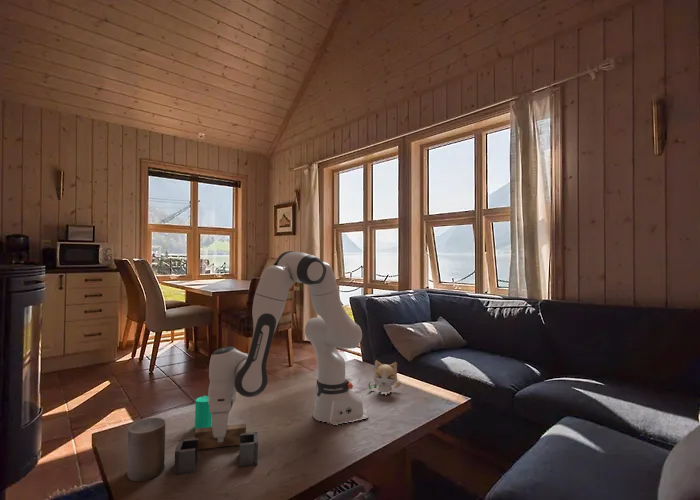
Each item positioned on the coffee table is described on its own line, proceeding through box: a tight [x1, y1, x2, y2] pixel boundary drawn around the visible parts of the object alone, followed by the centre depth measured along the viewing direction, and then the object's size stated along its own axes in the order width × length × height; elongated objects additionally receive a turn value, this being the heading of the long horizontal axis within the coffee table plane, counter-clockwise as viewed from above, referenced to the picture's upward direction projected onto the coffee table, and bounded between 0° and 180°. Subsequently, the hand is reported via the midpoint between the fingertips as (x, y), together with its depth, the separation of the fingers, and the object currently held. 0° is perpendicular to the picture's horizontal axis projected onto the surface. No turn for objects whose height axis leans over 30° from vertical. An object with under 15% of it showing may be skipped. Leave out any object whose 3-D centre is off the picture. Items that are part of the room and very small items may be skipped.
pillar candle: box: [126, 417, 166, 482], centre depth 106 cm, size 10×10×15 cm
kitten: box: [368, 359, 402, 392], centre depth 172 cm, size 15×10×15 cm
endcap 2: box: [238, 431, 259, 468], centre depth 114 cm, size 5×7×6 cm
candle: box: [194, 394, 212, 431], centre depth 134 cm, size 6×6×12 cm
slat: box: [194, 423, 247, 450], centre depth 122 cm, size 16×3×6 cm, turn 105°
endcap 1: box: [173, 437, 199, 476], centre depth 109 cm, size 5×7×6 cm
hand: (221, 437), depth 122 cm, fingers closed on slat, 3 cm apart
